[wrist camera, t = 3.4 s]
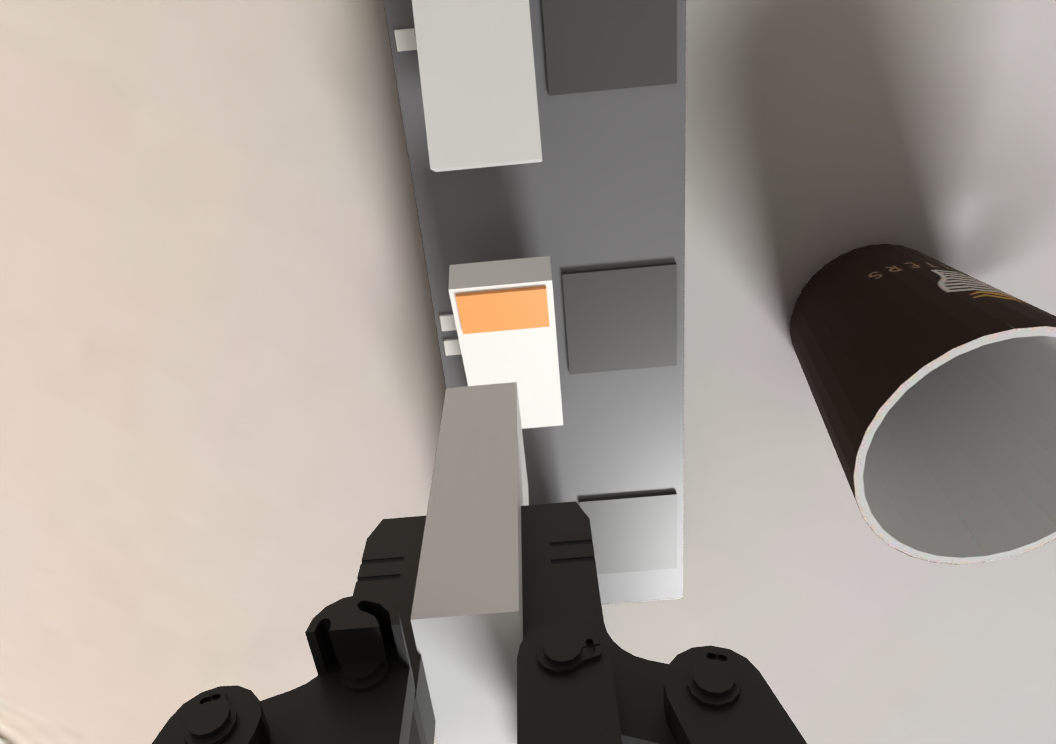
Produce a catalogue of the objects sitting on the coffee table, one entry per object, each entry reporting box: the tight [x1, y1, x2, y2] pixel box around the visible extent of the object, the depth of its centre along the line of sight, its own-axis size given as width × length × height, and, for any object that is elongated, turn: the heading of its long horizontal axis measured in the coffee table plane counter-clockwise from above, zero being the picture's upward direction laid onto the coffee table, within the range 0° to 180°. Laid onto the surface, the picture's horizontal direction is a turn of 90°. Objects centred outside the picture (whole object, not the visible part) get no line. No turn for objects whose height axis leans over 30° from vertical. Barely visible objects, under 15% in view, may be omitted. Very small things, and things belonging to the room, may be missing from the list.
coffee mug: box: [790, 244, 1056, 564], centre depth 29 cm, size 12×9×10 cm
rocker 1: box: [412, 0, 542, 172], centre depth 22 cm, size 7×3×1 cm, turn 5°
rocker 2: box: [448, 256, 563, 429], centre depth 27 cm, size 7×3×1 cm, turn 6°
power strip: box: [383, 0, 686, 605], centre depth 32 cm, size 36×9×4 cm, turn 5°
